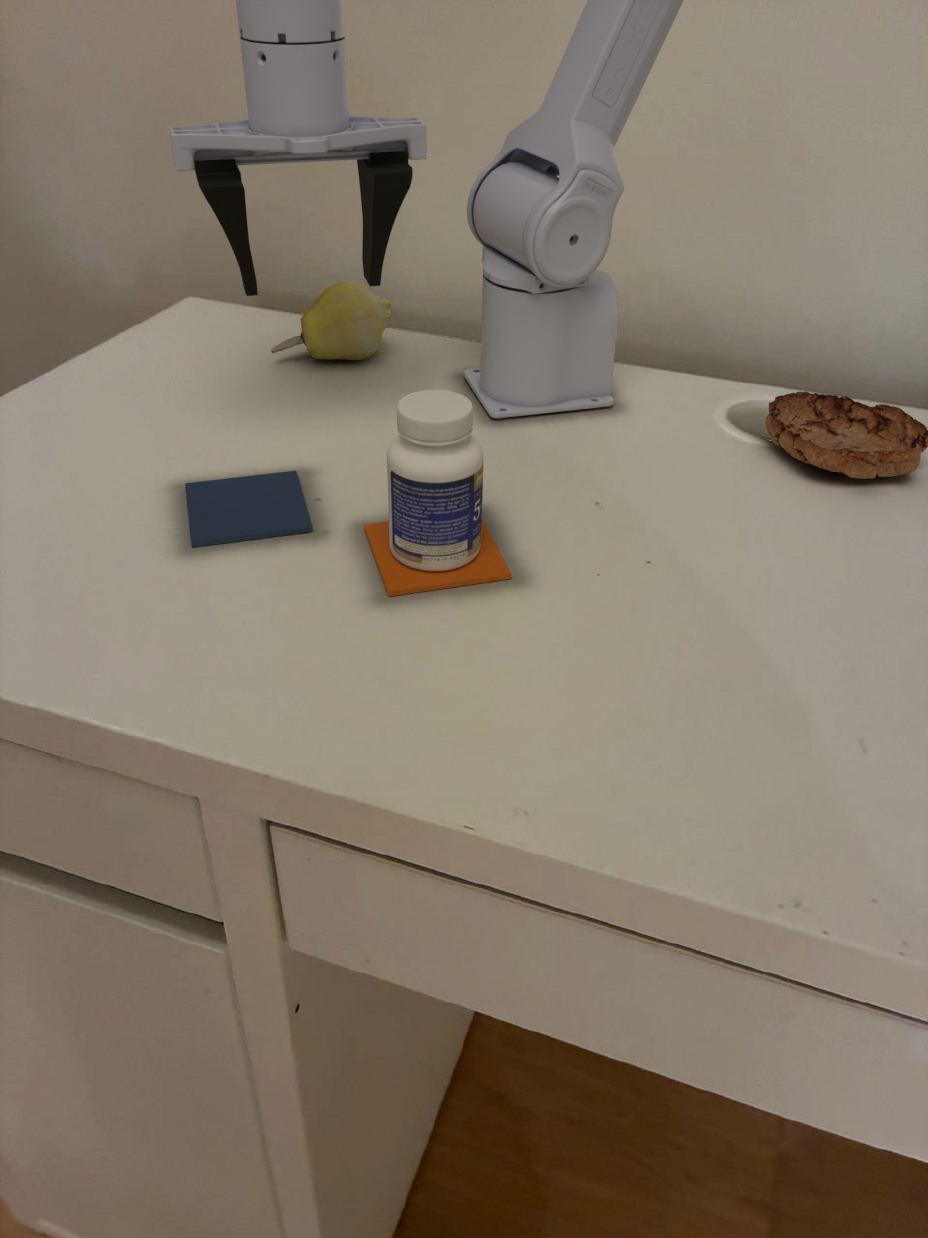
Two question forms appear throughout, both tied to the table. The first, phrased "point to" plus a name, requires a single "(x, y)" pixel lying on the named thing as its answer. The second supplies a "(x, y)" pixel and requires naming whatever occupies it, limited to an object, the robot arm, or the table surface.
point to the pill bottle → (435, 482)
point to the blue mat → (246, 508)
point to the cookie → (846, 434)
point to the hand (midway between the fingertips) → (312, 285)
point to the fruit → (342, 323)
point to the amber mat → (413, 580)
